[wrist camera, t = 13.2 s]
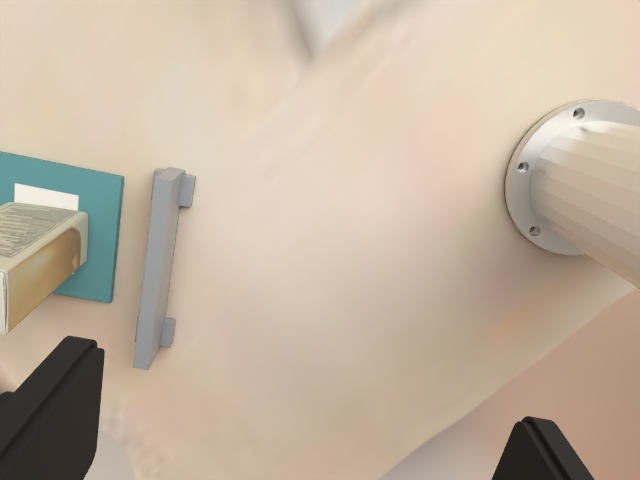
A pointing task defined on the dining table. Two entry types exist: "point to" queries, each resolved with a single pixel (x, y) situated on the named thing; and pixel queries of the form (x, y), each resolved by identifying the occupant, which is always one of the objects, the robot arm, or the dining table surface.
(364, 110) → the dining table surface
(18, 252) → the skincare box
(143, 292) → the grey drawer handle
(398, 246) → the dining table surface
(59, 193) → the pad
